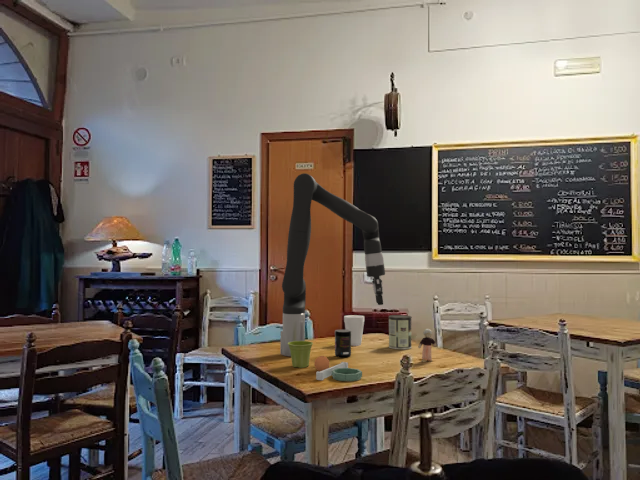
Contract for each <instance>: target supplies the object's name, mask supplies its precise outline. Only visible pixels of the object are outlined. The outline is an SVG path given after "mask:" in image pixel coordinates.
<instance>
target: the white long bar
mask: <svg viewBox="0 0 640 480" xmlns="http://www.w3.org/2000/svg"><path fill="white" fill-rule="evenodd" d="M337 368H349V362H346V361H341V362H340V363H338V364H336V365H333V366H331V367H330V366H329V368H328V369H325V370H323V371H318V370H317V371H316V372H315V373H316V374H315V380H318V381H324V379H327V378H329V377H331V376H332V370H335V369H337Z"/></svg>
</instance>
